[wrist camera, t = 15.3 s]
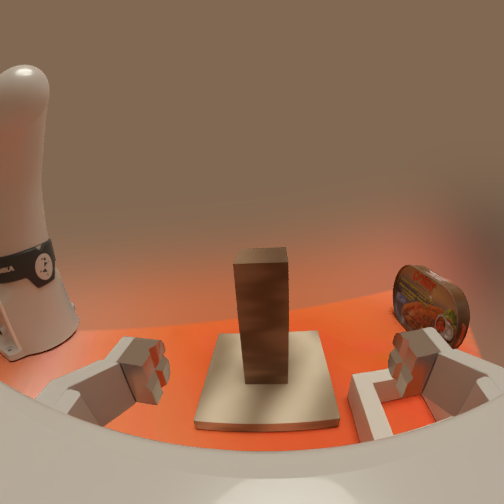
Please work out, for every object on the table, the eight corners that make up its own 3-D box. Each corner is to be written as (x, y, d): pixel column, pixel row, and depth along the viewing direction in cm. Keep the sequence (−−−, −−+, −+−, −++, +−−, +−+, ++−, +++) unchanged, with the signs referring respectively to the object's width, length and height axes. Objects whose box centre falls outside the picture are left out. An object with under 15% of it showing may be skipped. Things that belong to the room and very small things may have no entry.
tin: (388, 310, 36) (395, 256, 34) (405, 307, 36) (412, 255, 34) (440, 371, 22) (462, 303, 19) (459, 364, 22) (481, 298, 19)
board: (196, 428, 19) (193, 420, 19) (220, 341, 33) (219, 333, 32) (338, 426, 18) (340, 418, 18) (316, 338, 32) (317, 330, 31)
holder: (368, 474, 13) (378, 455, 12) (347, 396, 22) (352, 374, 21) (462, 441, 12) (477, 420, 12) (426, 380, 21) (435, 358, 20)
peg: (245, 384, 23) (233, 263, 20) (248, 358, 27) (239, 249, 24) (288, 383, 23) (288, 261, 20) (286, 358, 27) (285, 247, 23)
